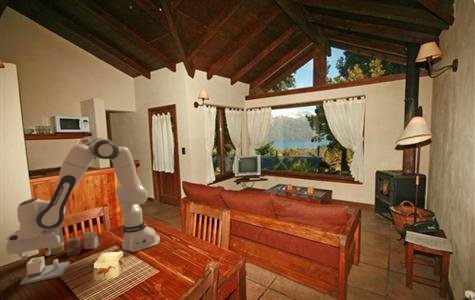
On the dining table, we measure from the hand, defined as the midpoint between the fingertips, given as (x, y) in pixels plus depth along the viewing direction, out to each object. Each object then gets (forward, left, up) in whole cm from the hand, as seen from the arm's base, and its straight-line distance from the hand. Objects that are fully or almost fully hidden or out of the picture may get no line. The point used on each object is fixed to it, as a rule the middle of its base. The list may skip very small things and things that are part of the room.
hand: (36, 257), depth 107 cm
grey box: (-18, -19, -10) cm, 29 cm away
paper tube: (0, -21, -10) cm, 24 cm away
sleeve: (0, +1, -8) cm, 8 cm away
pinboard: (-3, +1, -10) cm, 10 cm away
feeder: (-10, -17, -10) cm, 22 cm away
